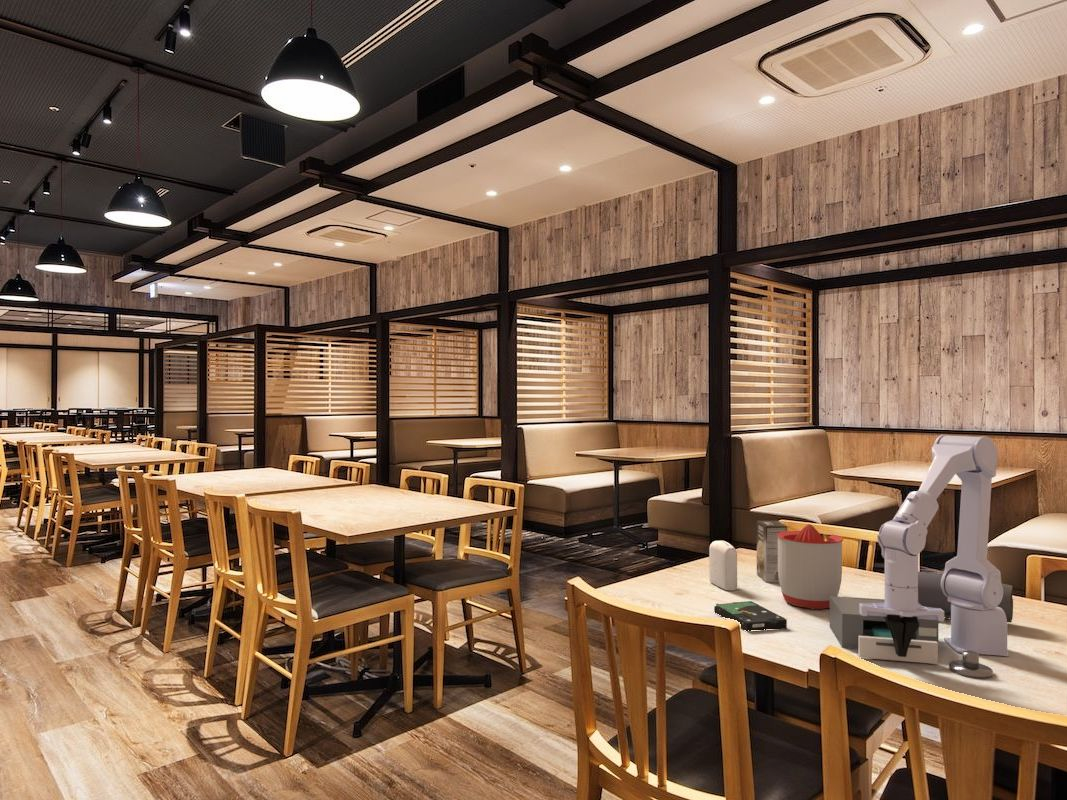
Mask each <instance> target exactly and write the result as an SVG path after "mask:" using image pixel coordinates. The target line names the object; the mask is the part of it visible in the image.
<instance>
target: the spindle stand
mask: <svg viewBox="0 0 1067 800" xmlns="http://www.w3.org/2000/svg"><path fill="white" fill-rule="evenodd" d="M979 657H980V654H978V653H977V652H974V651H968V650H964V651H963V653H962V660H961V659H956V660H951V661H949V663H948V669H949V670H950V671H951V672H952V673H955V674H956V673H957V675H959V676H962V677H966V678H970V677H971V678H972V679H977V680H978V679H979V680H985V679H987V678H988V679H991V678H993V676H994V670H993V669H992V668H991V667H989V666H987V665H985V664H983V663H980V661H979V660H980V659H979Z"/></svg>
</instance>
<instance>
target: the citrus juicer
mask: <svg viewBox="0 0 1067 800" xmlns="http://www.w3.org/2000/svg"><path fill="white" fill-rule="evenodd" d="M777 536H778V576H779V582H778V583H779V587H780V590H781V594H782V597H783V599H784V601H785V602H786V603H787V604H789V605H793V606H795V607H801V608H807V609H812V610H816V611H817V610H822V609H830V596H838V595H839V593H840V589H841V585H842V578H843V577H842V575H843V571H842V570H843V541H844V538H843V537H841V536H839V535H837V534H836V535H835V534H831V535H828V537H827V540H825V539H824V538H823V536H822V535H821V534H820V532H819V531H818V530H817V529H816V527H814V525H812V524H810V523H809V524H807V525H805V526H804V527H803V528H801V530H787V531H785V532H780V533H778V534H777ZM838 597H839V596H838Z"/></svg>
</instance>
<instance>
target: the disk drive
mask: <svg viewBox="0 0 1067 800" xmlns="http://www.w3.org/2000/svg"><path fill="white" fill-rule="evenodd" d="M713 609H714V612H715V614H716V613H717V614H719V615H721V616H719V615H718V616H719V617H721V618H722V617H725V618H730V619H734V620H737V621H738V622H740V624H741V630H742V631H744V630H746V631H748V630H749V631H751V630H764V629H765V630H766V629H779V630H787V629H788V627H787V626H788V623H787V622H788V621H787V620H788V619H787V618H785V617H783V616H781V615H779V614H777V613H776V612H773V611H771V610H770V609H768V608H765V607H764V606H763V605H759V604H758V603H756V602H754V601H752V600H751V601H750V600H749V601H735V602H734V601H733V602H731V603H730V602H728V603H716V604H715V606H714V607H713ZM717 614H716V615H717ZM746 631H745V632H746Z"/></svg>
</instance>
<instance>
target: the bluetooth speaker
mask: <svg viewBox="0 0 1067 800" xmlns="http://www.w3.org/2000/svg"><path fill="white" fill-rule="evenodd" d="M943 574H944V573H935V572H925V571H918V603H920V604H921V605H922V606H924V607H931V608H941V609H942V610H943V611H944V617H946V618H945V619H947V618H951V602H948V601H947V597H946V596H945V595H944V593H943V591H942V589H941V578H942V576H943ZM1002 587H1003V598H1002V600H1001V602H1000V604H999V605H998V606H997V607H1000V608H1002V609H1003V611H1004V612H1005V615H1006V618H1007V623H1012V620H1013V619H1014V615H1013V614H1014V598H1013V590H1014V588H1013V585H1011V584H1006V583H1002Z"/></svg>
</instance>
